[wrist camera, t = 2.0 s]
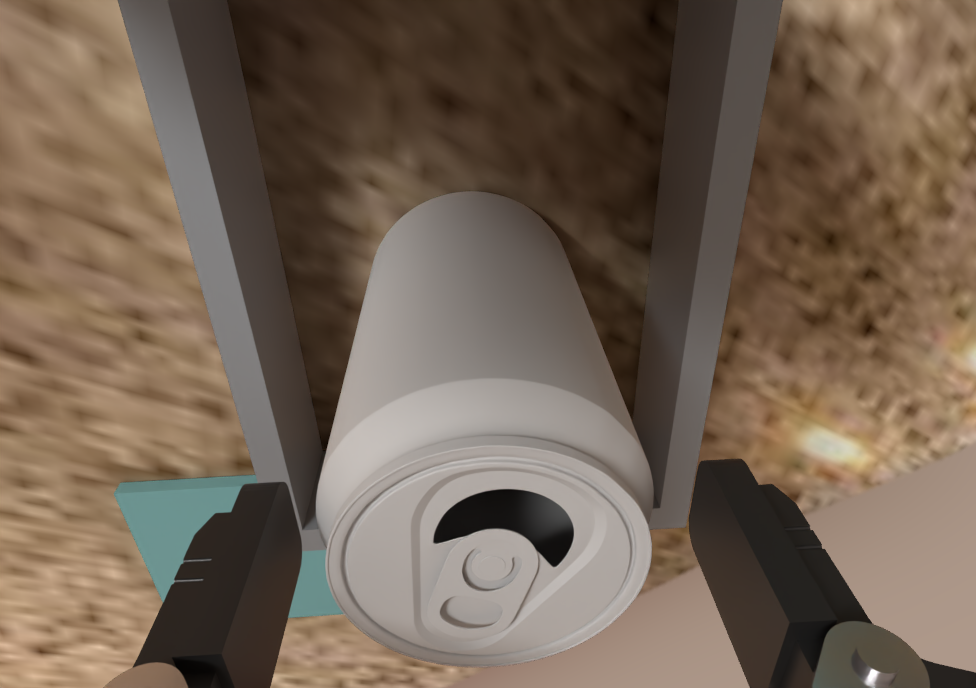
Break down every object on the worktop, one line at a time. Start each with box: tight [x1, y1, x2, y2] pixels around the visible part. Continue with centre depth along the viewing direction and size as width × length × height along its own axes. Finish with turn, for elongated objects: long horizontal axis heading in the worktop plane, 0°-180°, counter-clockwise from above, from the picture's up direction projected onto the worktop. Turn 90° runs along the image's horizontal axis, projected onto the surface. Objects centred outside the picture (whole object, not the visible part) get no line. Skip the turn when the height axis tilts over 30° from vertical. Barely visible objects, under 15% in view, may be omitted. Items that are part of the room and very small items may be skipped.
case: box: [118, 0, 783, 551], centre depth 19 cm, size 19×14×4 cm
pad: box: [114, 475, 343, 618], centre depth 27 cm, size 8×8×1 cm
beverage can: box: [316, 191, 654, 667], centre depth 16 cm, size 6×6×12 cm
